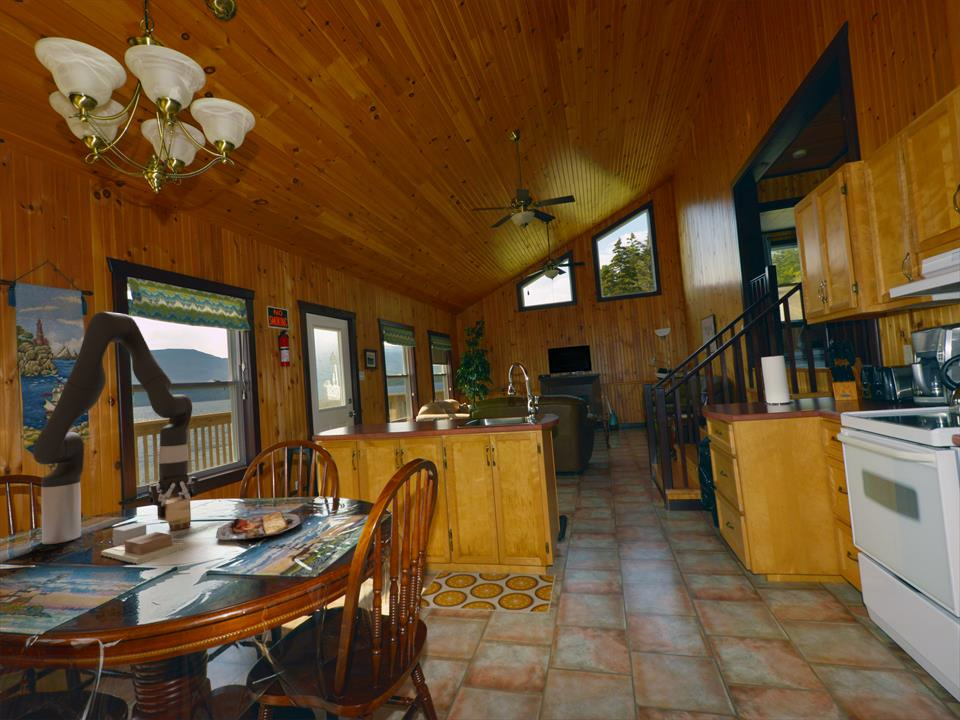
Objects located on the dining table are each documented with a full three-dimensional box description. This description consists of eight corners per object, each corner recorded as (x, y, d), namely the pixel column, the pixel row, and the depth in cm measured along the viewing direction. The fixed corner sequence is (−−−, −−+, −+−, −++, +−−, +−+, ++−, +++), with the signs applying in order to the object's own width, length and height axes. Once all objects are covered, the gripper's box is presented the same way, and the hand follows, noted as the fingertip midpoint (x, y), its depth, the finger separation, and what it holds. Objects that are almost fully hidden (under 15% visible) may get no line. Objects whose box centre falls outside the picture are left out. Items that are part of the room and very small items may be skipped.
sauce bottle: (194, 526, 156) (193, 465, 157) (174, 531, 150) (172, 468, 151) (184, 524, 159) (183, 464, 160) (164, 529, 154) (162, 467, 155)
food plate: (220, 526, 154) (219, 515, 154) (296, 515, 163) (296, 505, 163) (213, 552, 131) (213, 539, 131) (302, 537, 141) (302, 525, 141)
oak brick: (157, 519, 143) (157, 502, 143) (178, 514, 149) (178, 497, 149) (169, 521, 140) (169, 504, 141) (189, 516, 146) (189, 499, 146)
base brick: (124, 551, 129) (124, 540, 130) (156, 542, 136) (156, 531, 137) (141, 555, 126) (140, 544, 126) (172, 545, 133) (172, 534, 133)
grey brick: (113, 545, 140) (112, 528, 140) (135, 539, 145) (135, 522, 145) (124, 548, 137) (123, 530, 137) (146, 541, 142) (146, 524, 143)
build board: (101, 555, 131) (101, 550, 131) (148, 541, 142) (148, 536, 142) (136, 563, 123) (136, 558, 123) (184, 548, 134) (183, 543, 134)
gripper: (189, 455, 153) (190, 508, 153) (141, 463, 141) (141, 520, 140) (204, 456, 150) (204, 510, 149) (155, 464, 137) (155, 523, 136)
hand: (173, 515), depth 144 cm, fingers closed on oak brick, 6 cm apart
